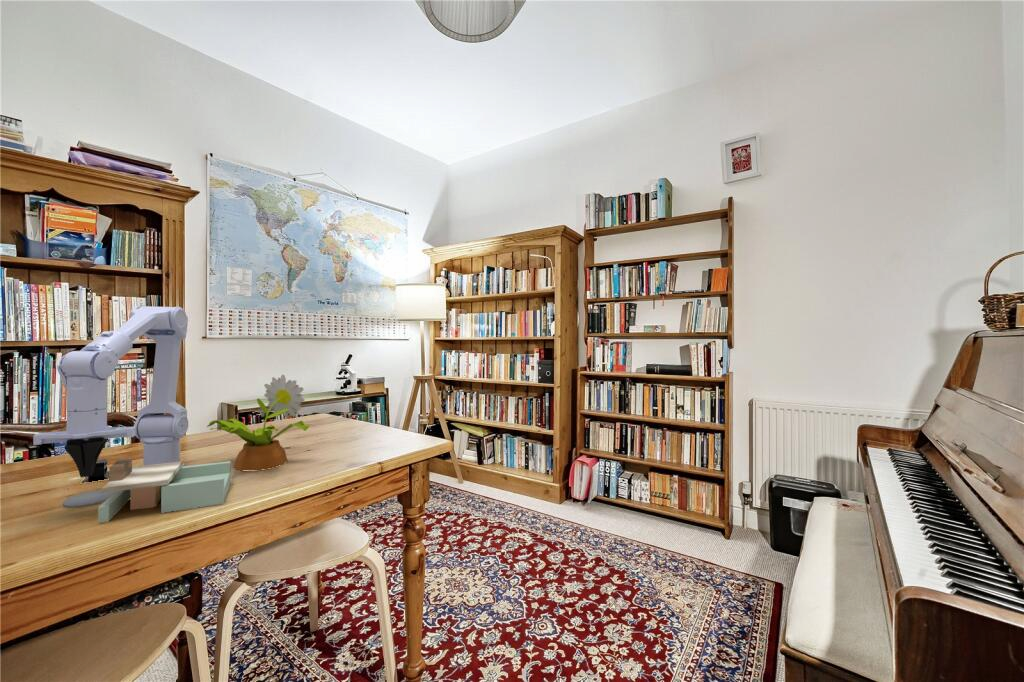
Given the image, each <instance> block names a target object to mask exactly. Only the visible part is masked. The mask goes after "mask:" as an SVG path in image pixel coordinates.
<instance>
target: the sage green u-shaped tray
mask: <svg viewBox="0 0 1024 682" xmlns="http://www.w3.org/2000/svg"><path fill="white" fill-rule="evenodd" d="M231 462H232V461H230V460H229V461H220V462H212V463H211V462H210V463H203V464H195V465H194V464H193V465H184V466H183V467H181V468H180V469H179V470H178V472H177V473H176V474H175V476H174V477H173V478H172V480H171V481H170V482H169V484H168V485H161V486H160V494H161V495H160V500H161V501H160V503H161V505H160V506H161V507H160V509H161V510H160V511H161V512H160V513H161V514H166V513H165V512H167V513H172V512H171V511H174V512H177V511H176V510H180V511H185V510H184V509H187V510H191V509H190V508H193V509H198V507H200V508H205V507H210V506H211V507H212V506H218V505H224V503H225V500H226V497H227V495H228V492H227V491H229V489H230V486H231V478H232V477H231V474H232V473H231V466H232V464H231ZM228 488H229V489H228ZM129 498H131V489H130V490H122V491H115V492H114V493H113V494H112V495H111V496H110V497H109V498H108V499H107V500H106V501H105V502H103V503H101V504H100V505H99V506H98V507H97V523H98V524H101V522H103V523H108V522H107V521H109V520H110V521H111V520H112V519H113V517H114V516H115V515H116V514H117V513H118V512H119V511H120V510H121V509H122V508H123V506H124V505H125V504H126V503H127V502H128V501H129V500H130V499H129ZM128 499H129V500H128ZM120 508H121V509H120ZM119 509H120V510H119ZM118 510H119V511H118ZM117 511H118V512H117ZM116 512H117V513H116ZM115 513H116V514H115ZM113 515H114V516H113Z"/></svg>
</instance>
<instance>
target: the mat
mask: <svg viewBox="0 0 1024 682" xmlns="http://www.w3.org/2000/svg"><path fill="white" fill-rule="evenodd" d="M114 492H115V491H114ZM114 492H106V493H102V489H98V490H90V491H85V492H81V493H79V494H74V495H72V496H69V497H68V498H65V499H63V500H62V506H63V507H64V506H65V508H81V507H89V506H95V505H99V504H103V503H104V502H105V501H106V500H107V499H108V498H109V497H110V496H111V495H112V494H113V493H114ZM102 502H103V503H102ZM98 503H99V504H98ZM94 504H95V505H94Z"/></svg>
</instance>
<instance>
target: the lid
mask: <svg viewBox="0 0 1024 682" xmlns="http://www.w3.org/2000/svg"><path fill="white" fill-rule="evenodd" d="M182 464H183V461H181V460H180V462H171V463H162V464H152V465H143V464H142V465H136V466H133V457H125V458H119V459H118V460H116V462H114V463H112V464H111V465H110V466H109V470H108V471H109V480H108V482H107V483H106V484H105V485H104V486H103V487H101V490H102V493H106V492H114V491H122V490H130V489H137V488H145V487H153V486H161V485H168V484H169V482H170V481H171V480H172V478H173V477H174V476H175V474H176V473H177V472H178V470H179V469H180V468H181V466H182Z"/></svg>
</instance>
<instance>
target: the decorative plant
mask: <svg viewBox="0 0 1024 682" xmlns="http://www.w3.org/2000/svg"><path fill="white" fill-rule="evenodd" d="M263 386H264V388H265V389H266V390H265V393H264V397H265V398H267V401H268V404H267V406H266V405H265V403H264V402H263V401H262V400H261V399H260V398H257V399H256V402H257V403H258V406H259V408H260V409H261V411H262V412H264V413H265V415H266V416H265V418H264V422H263V426H262V427H258V428H257V429H254V430H253V429H252V430H250V429H249V428H248V426H247V425H246V424H245V423H244V422H242V421H239V420H238V419H237V418H235V417H234V418H229V419H226V420H225V419H221V420H220V419H218V420H217V419H216V420H215V419H214V420H212V421H210V422H209V423H208V425H207V426H206V428H208V427H211V426H214V425H215V424H220V425H219V426H217V427H216V428H214V427H211V428H209V429H210V431H211V430H214V429H215V430H218V429H219V431H222V430H223V431H225V432H227V433H228V434H229V433H230V434H234V435H236V436H238V437H240V438H241V439H242V440H243V441H244V442H245V443H244V444H243V446H242V449H241V450H240V451H239V452H238V454H237V455H236V457H235V461H234V464H233V469H234V468H235V469H238V470H260V471H263V470H262V469H266V470H269V469H268V468H271V469H273V468H272V467H275V468H277V467H276V466H278V467H280V466H279V465H281V466H283V465H285V464H286V463H287V462H288V457H287V453H286V450H285V449H284V447H283V446H282V445H281V444H280V440H279V439H276V438H277V437H278V436H280V435H281V434H283V433H284V432H287V430H289V429H291V428H292V427H297V428H300V429H301V430H303V431H305V432H306V431H307V430H308V429H309V428H310V426H311V425H310V424H305V423H304V421H303V420H300V421H297V422H294V423H290V424H288V425H287V426H285V428H282V430H280V431H279V432H278V430H279V429H278V428H276V426H275V425H273V424H270V425H269V426H266V424H267V421H268V419H271V418H274V417H277V416H279V415H283V416H284V418H286V419H287V418H288V416H289V415H290V416H291V417H293V418H295V417H296V413H299V411H301V409H302V407H301V406H300V405H302V403H303V402H305V399H304V398H303V394H301V393H302V392H303V391H304V387H302V386H301V387H300V385H299V384H297V380H295V379H294V380H292V379H289V380H287V379H286V375H285V374H282V375H280V377H278V378H277V379H276V377H274V376H273V377H271V382H270V384H269V383H265V384H264V385H263ZM267 407H268V408H269V409H268V408H267ZM271 410H274V412H273V413H271V414H270V415H269V413H270V412H271ZM273 431H276V432H278V433H276V434H274V435H273ZM272 435H273V436H272ZM286 461H287V462H286ZM285 462H286V463H285ZM284 463H285V464H284ZM282 464H283V465H282ZM235 469H234V470H235ZM238 470H237V471H238Z"/></svg>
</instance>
